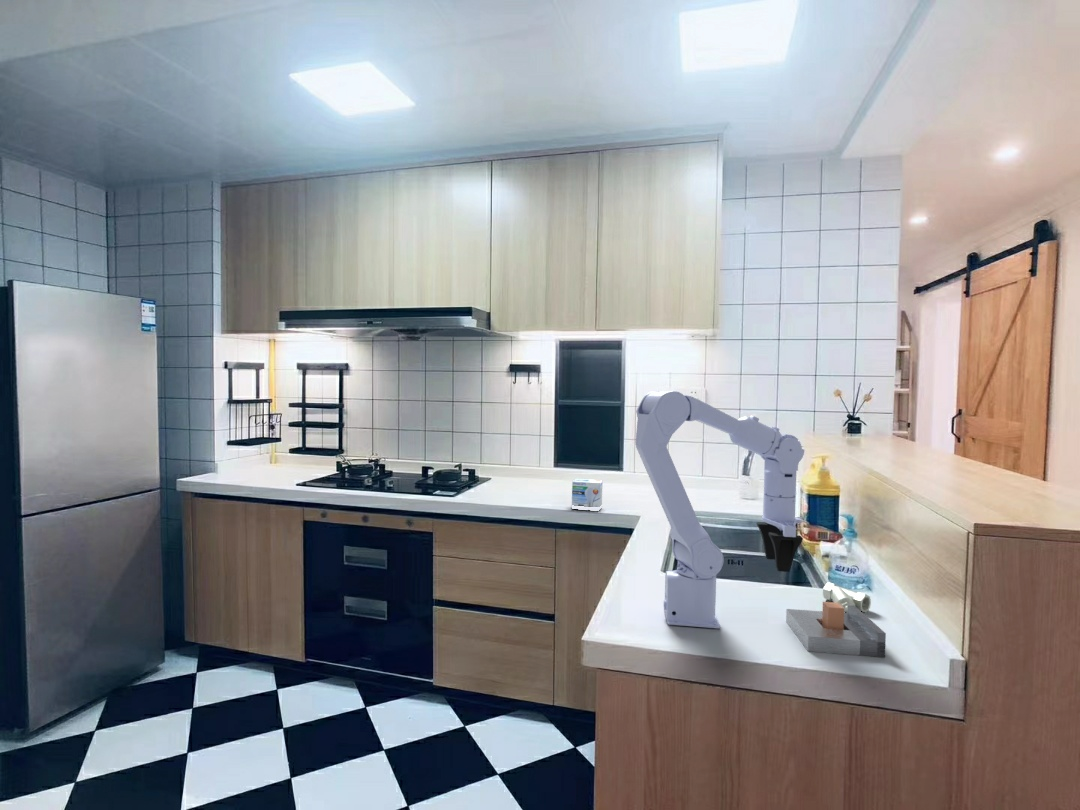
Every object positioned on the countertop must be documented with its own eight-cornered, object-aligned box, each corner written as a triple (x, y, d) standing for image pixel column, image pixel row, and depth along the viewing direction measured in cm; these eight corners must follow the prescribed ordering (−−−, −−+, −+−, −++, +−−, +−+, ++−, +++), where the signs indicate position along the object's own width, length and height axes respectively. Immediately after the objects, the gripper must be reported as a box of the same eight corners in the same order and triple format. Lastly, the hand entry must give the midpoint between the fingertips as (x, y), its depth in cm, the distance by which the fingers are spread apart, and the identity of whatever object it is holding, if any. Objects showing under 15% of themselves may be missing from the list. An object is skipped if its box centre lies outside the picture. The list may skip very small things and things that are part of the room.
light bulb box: (571, 510, 201) (571, 480, 201) (574, 506, 207) (574, 478, 207) (600, 512, 198) (600, 482, 198) (602, 508, 205) (602, 479, 205)
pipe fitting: (851, 620, 107) (871, 611, 110) (850, 600, 107) (870, 592, 110) (813, 606, 114) (832, 598, 117) (812, 587, 114) (832, 580, 117)
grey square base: (807, 651, 92) (808, 627, 92) (786, 621, 104) (786, 600, 104) (885, 657, 90) (885, 633, 90) (853, 627, 102) (854, 605, 102)
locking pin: (827, 641, 96) (828, 607, 96) (821, 634, 98) (822, 601, 98) (843, 642, 95) (844, 608, 95) (837, 636, 98) (838, 602, 98)
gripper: (814, 503, 99) (812, 578, 99) (789, 489, 113) (787, 555, 113) (773, 501, 100) (771, 575, 100) (753, 488, 114) (752, 553, 114)
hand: (777, 564), depth 107 cm, fingers open, 7 cm apart
